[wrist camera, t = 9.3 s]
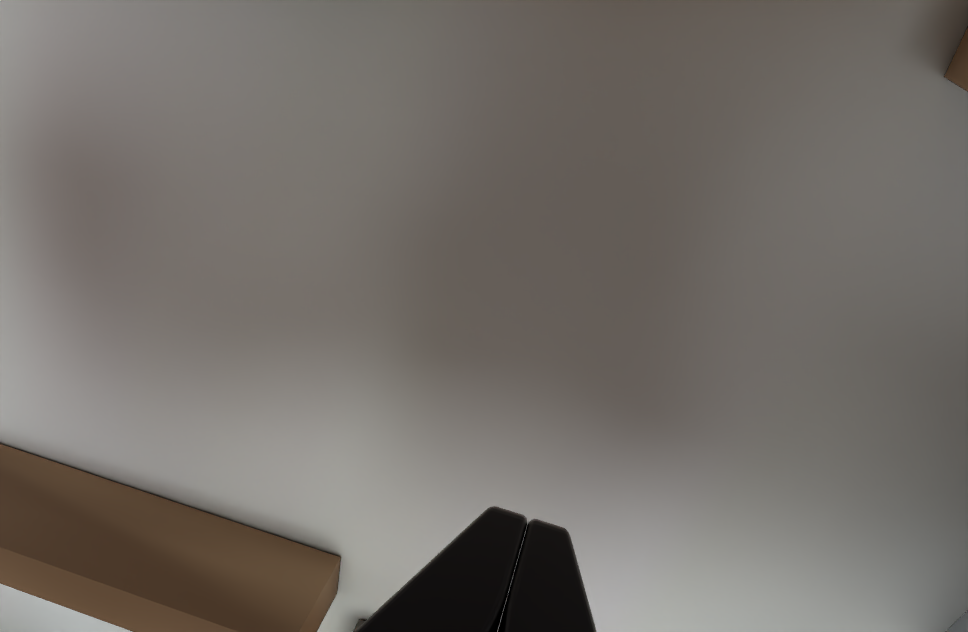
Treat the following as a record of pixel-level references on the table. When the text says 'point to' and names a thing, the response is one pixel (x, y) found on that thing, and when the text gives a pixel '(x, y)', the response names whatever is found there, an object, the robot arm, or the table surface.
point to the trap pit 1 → (359, 624)
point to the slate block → (960, 624)
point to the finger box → (166, 547)
